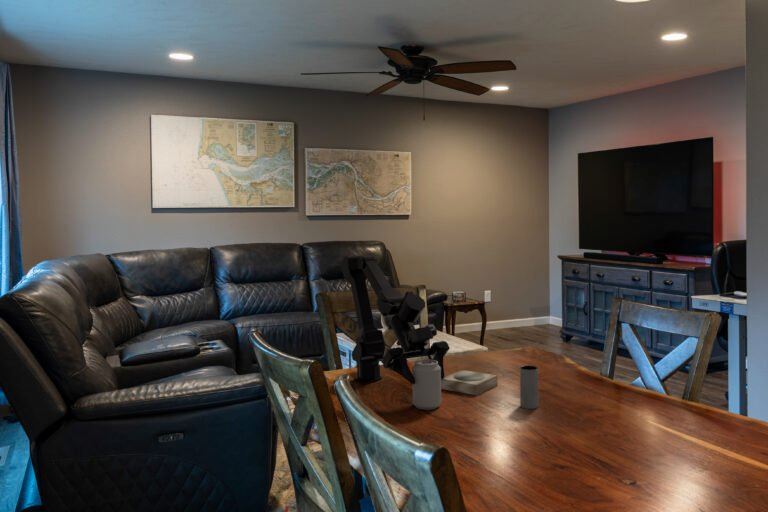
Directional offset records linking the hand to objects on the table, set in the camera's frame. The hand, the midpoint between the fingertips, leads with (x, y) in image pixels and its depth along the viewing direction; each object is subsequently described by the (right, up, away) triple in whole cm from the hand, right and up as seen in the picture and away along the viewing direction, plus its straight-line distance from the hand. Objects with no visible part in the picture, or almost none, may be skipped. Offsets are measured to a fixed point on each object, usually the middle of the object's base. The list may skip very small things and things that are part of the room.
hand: (428, 381), depth 160 cm
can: (0, -7, +1) cm, 7 cm away
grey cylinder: (+26, -7, 0) cm, 27 cm away
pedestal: (+13, -6, +19) cm, 23 cm away
